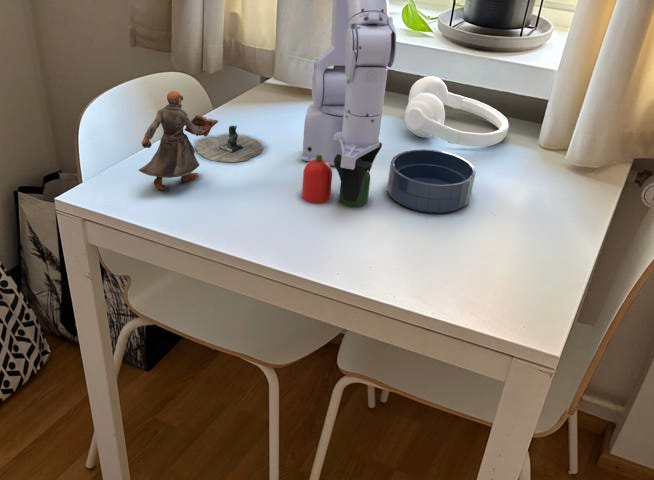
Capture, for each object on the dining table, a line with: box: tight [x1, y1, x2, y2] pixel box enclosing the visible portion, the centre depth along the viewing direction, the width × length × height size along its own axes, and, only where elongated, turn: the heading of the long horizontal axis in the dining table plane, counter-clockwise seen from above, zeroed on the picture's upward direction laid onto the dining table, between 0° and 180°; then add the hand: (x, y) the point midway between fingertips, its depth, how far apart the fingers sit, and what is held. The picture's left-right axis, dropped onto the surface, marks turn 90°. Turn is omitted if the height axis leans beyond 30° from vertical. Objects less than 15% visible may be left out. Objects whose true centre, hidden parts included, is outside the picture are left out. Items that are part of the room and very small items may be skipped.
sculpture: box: [194, 125, 265, 163], centre depth 135 cm, size 12×9×8 cm
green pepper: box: [338, 171, 371, 209], centre depth 119 cm, size 5×5×7 cm
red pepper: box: [301, 155, 333, 204], centre depth 119 cm, size 5×5×7 cm
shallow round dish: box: [386, 148, 477, 214], centre depth 122 cm, size 14×14×5 cm
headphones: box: [404, 75, 510, 147], centre depth 144 cm, size 20×8×20 cm
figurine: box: [138, 90, 219, 191], centre depth 118 cm, size 14×7×15 cm, turn 110°
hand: (354, 193), depth 120 cm, fingers closed on green pepper, 4 cm apart
